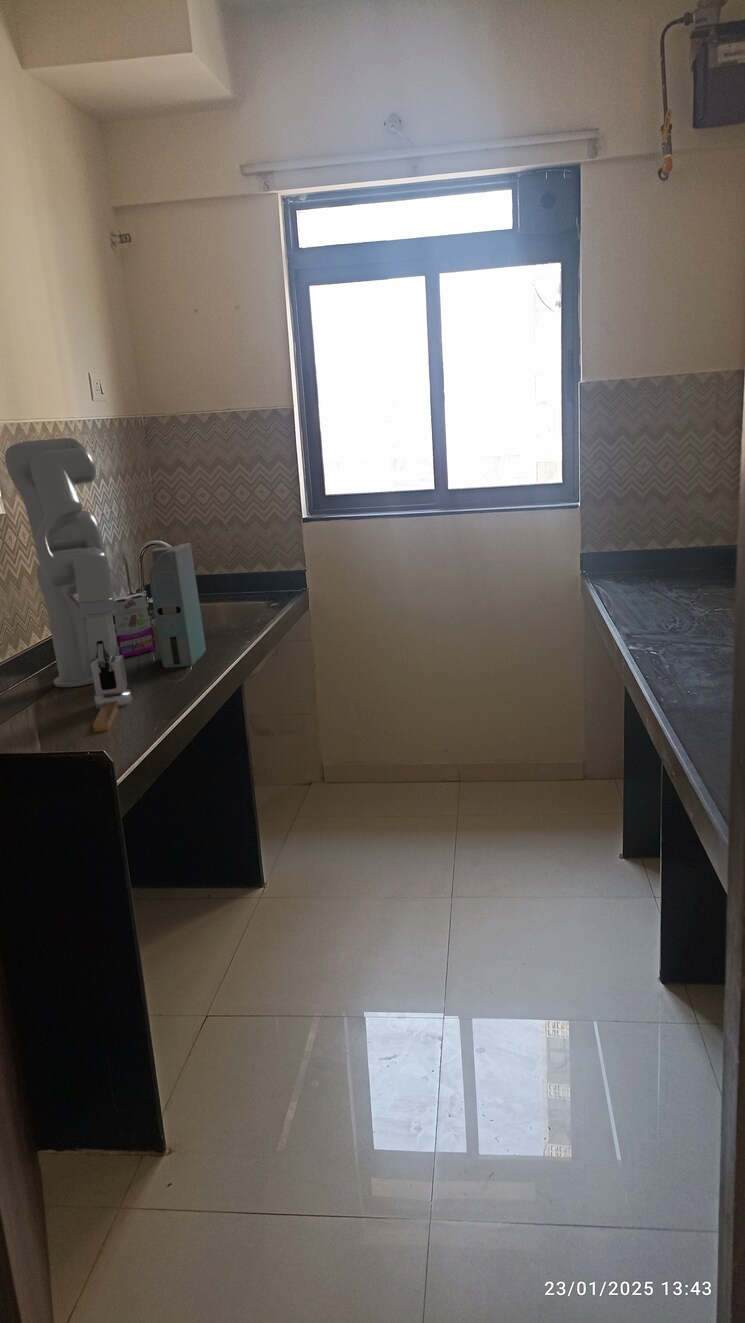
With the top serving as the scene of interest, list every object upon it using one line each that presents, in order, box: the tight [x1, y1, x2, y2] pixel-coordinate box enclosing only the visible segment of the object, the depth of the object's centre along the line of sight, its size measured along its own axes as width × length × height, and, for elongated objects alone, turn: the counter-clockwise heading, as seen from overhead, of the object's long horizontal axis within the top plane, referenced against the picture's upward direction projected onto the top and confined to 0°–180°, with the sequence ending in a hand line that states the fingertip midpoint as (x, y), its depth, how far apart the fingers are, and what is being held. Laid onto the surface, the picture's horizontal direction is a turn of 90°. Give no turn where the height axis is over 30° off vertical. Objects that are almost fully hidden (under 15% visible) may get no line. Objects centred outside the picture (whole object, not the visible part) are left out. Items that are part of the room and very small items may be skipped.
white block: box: [91, 655, 128, 695], centre depth 210 cm, size 6×6×7 cm
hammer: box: [92, 688, 133, 733], centre depth 203 cm, size 24×8×6 cm, turn 8°
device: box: [148, 542, 207, 669], centre depth 245 cm, size 16×8×30 cm, turn 177°
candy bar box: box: [112, 592, 157, 660], centre depth 259 cm, size 11×5×16 cm, turn 131°
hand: (111, 684), depth 210 cm, fingers closed on white block, 6 cm apart
